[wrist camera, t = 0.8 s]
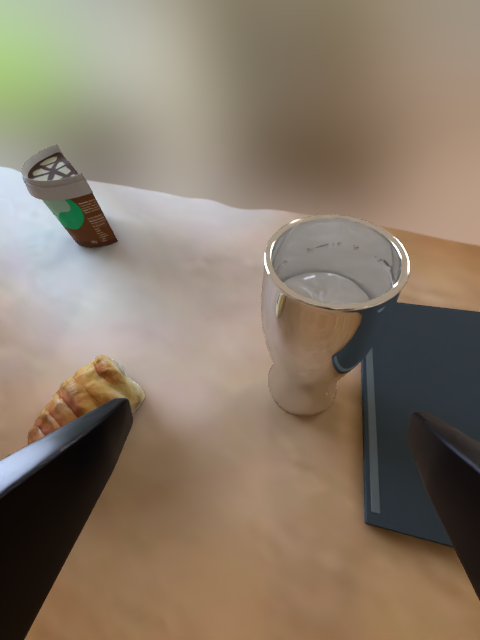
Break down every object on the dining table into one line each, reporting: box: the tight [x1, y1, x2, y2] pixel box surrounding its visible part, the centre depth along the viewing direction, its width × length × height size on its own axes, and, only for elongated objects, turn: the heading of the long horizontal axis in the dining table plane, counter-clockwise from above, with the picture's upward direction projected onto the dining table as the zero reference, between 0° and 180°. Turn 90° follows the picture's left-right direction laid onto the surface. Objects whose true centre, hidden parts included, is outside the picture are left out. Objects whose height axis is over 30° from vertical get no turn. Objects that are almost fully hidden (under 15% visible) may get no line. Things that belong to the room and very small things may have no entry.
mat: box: [361, 302, 480, 547], centre depth 23 cm, size 20×12×1 cm, turn 167°
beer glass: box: [261, 214, 410, 416], centre depth 19 cm, size 7×7×15 cm
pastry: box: [28, 356, 145, 445], centre depth 23 cm, size 9×7×4 cm
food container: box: [21, 145, 118, 247], centre depth 37 cm, size 12×6×10 cm, turn 37°
